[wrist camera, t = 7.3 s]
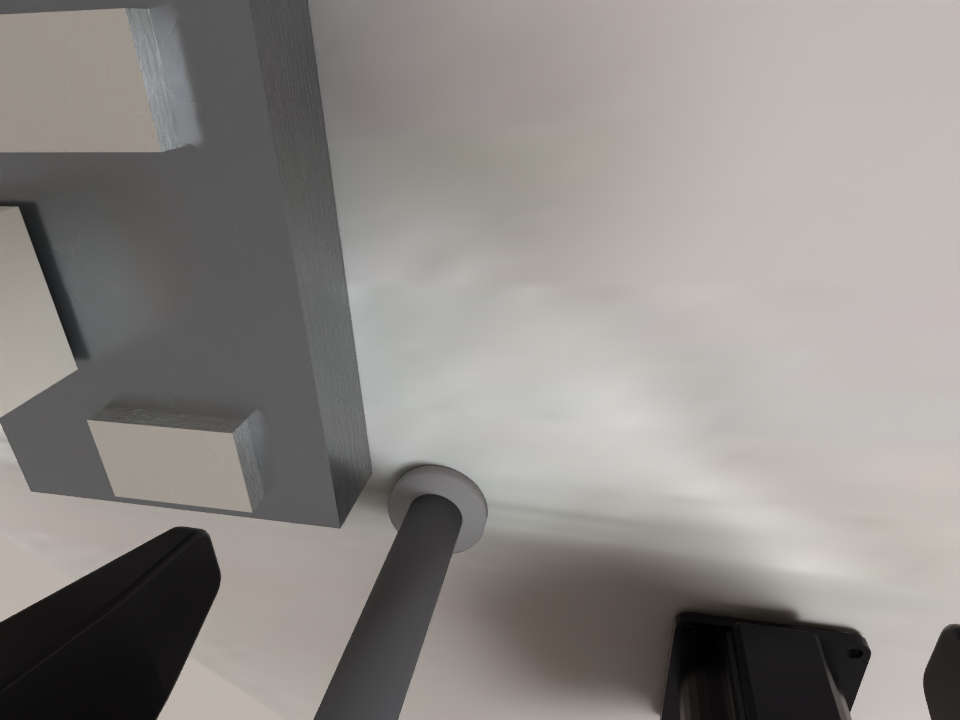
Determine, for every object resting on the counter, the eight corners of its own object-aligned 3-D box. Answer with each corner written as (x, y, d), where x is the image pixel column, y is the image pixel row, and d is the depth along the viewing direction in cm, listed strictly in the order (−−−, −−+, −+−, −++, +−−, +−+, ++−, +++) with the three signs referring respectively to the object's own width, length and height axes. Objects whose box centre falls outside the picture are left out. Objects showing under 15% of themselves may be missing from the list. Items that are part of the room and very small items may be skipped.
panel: (372, 472, 23) (330, 545, 20) (91, 444, 26) (12, 505, 22) (302, -38, 16) (219, -54, 13) (-82, -14, 18) (-236, -23, 15)
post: (488, 547, 24) (422, 799, 16) (397, 537, 25) (292, 772, 17) (486, 470, 22) (411, 708, 15) (388, 460, 23) (267, 683, 15)
